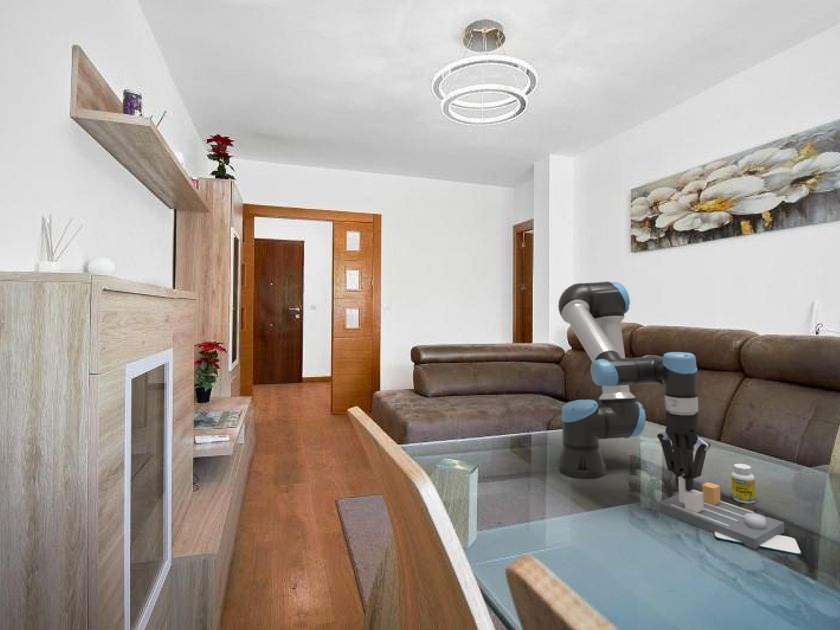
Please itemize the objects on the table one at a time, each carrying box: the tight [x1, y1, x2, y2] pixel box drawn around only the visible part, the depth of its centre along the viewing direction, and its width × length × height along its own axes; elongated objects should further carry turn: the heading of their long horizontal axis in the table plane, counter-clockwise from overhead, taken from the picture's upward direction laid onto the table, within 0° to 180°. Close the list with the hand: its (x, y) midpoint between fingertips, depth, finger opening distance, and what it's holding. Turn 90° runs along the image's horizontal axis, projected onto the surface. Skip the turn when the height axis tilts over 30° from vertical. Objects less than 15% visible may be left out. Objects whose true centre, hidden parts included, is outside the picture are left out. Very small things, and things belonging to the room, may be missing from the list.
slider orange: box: [701, 481, 721, 505], centre depth 120 cm, size 3×3×4 cm
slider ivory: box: [685, 489, 704, 513], centre depth 116 cm, size 3×3×4 cm
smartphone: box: [713, 531, 802, 556], centre depth 106 cm, size 8×1×16 cm
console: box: [658, 493, 785, 551], centre depth 115 cm, size 23×14×4 cm, turn 29°
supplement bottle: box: [730, 463, 757, 505], centre depth 126 cm, size 5×5×10 cm
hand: (685, 500), depth 118 cm, fingers closed
